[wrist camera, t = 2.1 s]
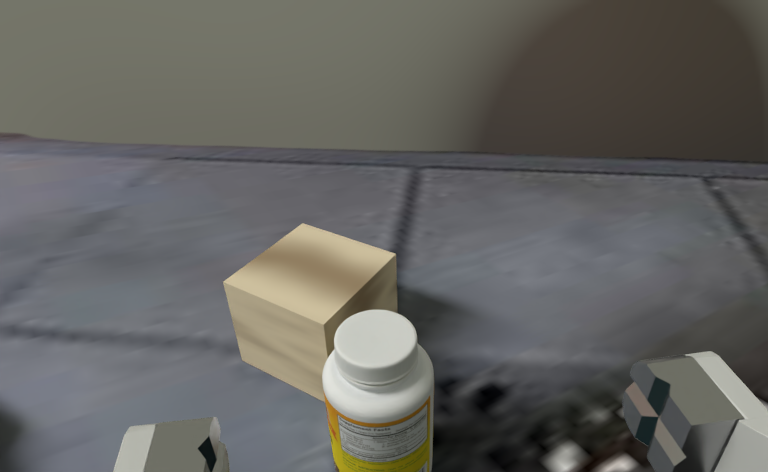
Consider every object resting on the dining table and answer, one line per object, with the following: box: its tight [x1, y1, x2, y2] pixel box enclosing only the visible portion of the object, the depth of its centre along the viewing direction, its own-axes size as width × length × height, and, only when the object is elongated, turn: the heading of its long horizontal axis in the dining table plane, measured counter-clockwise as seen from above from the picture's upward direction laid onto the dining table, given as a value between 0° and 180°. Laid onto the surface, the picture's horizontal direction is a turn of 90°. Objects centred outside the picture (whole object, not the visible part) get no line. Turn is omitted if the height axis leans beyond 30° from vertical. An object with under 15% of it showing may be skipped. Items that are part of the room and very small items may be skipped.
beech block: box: [223, 224, 398, 402], centre depth 38 cm, size 8×8×7 cm
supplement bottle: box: [322, 310, 434, 472], centre depth 29 cm, size 6×6×10 cm
